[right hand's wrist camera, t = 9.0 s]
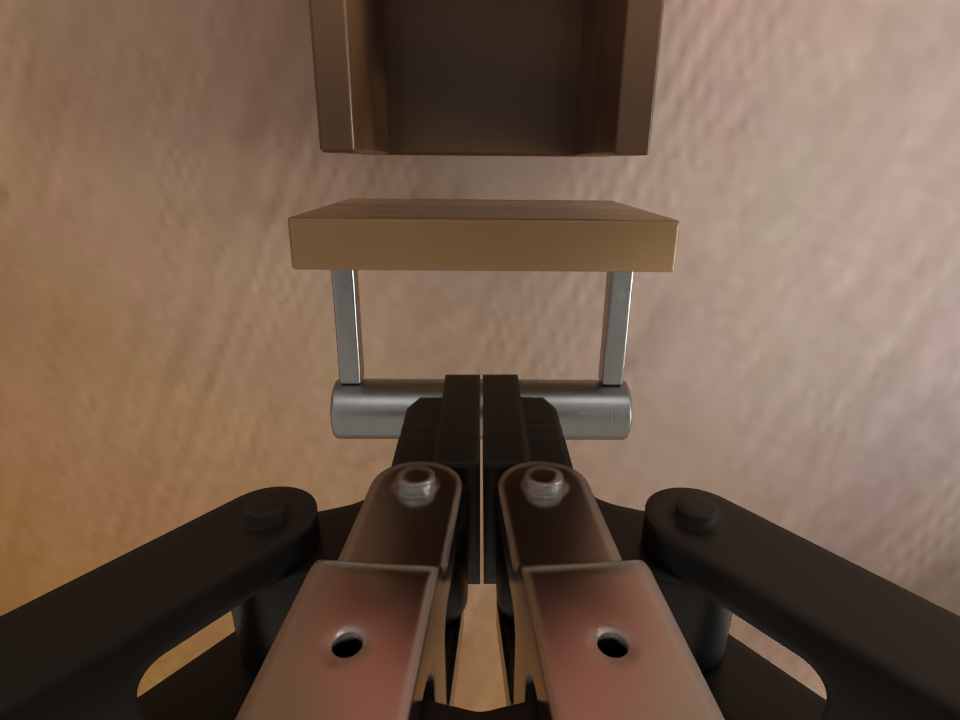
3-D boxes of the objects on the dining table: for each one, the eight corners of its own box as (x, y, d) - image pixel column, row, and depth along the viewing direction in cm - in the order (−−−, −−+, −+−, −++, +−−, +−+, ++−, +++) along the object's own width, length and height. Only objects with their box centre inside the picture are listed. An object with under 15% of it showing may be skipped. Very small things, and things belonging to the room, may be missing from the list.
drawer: (598, 377, 22) (650, 469, 15) (360, 376, 22) (311, 468, 15) (658, -347, 15) (796, -729, 9) (313, -353, 15) (189, -744, 8)
